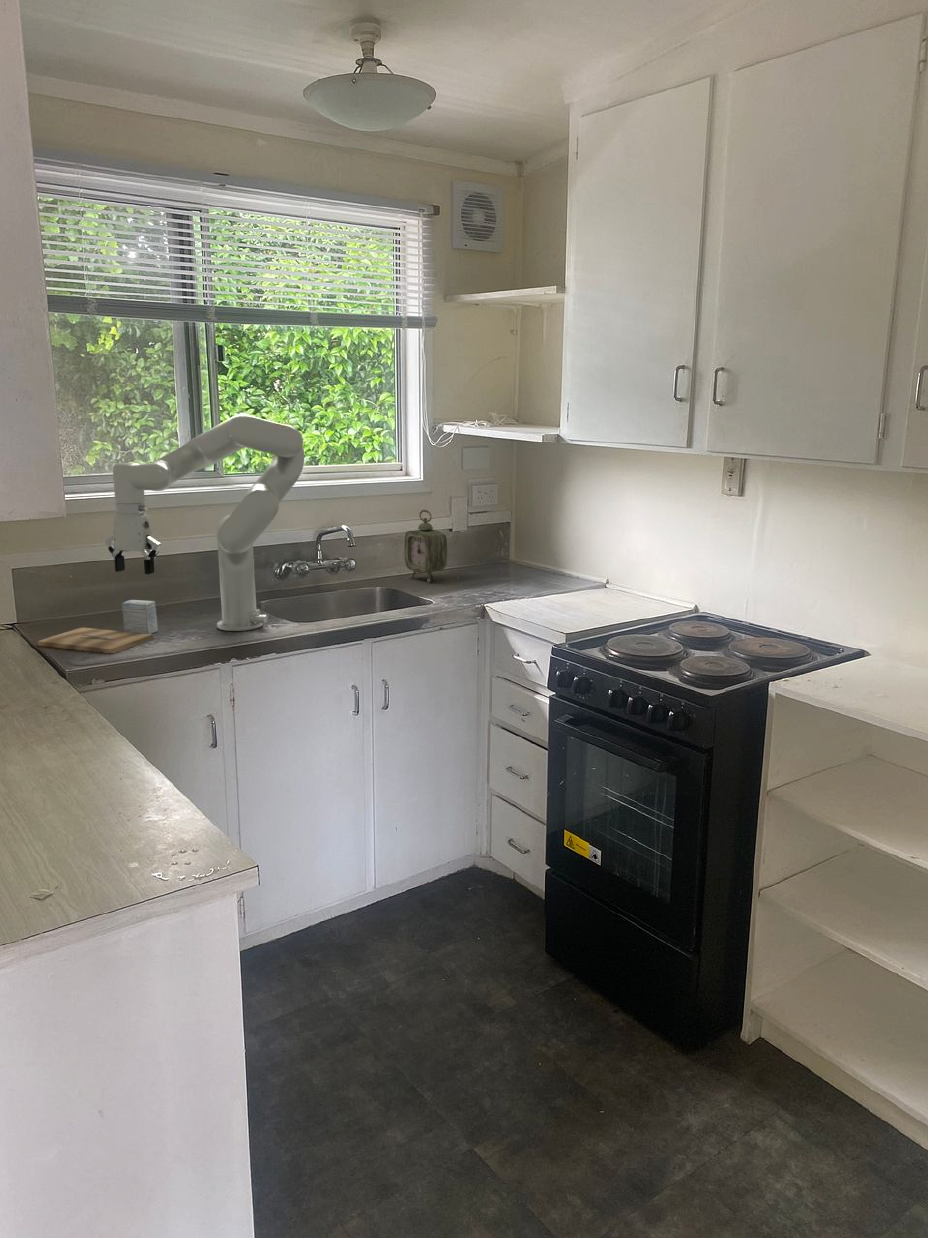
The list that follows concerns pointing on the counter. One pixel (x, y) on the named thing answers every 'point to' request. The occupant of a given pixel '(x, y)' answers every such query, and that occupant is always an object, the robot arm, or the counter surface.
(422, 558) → the tabletop clock
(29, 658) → the counter surface
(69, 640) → the light brown wooden board
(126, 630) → the medicine box
